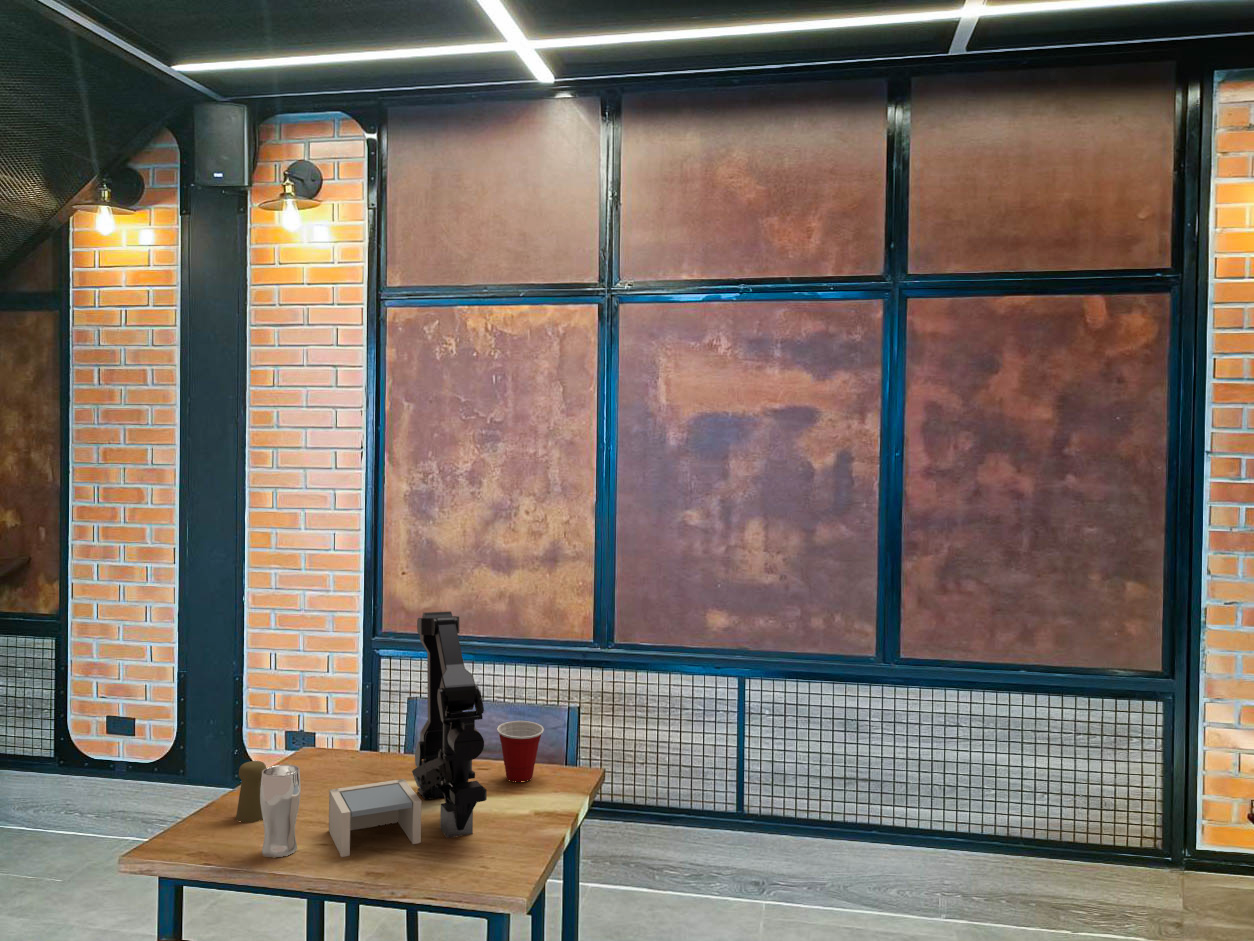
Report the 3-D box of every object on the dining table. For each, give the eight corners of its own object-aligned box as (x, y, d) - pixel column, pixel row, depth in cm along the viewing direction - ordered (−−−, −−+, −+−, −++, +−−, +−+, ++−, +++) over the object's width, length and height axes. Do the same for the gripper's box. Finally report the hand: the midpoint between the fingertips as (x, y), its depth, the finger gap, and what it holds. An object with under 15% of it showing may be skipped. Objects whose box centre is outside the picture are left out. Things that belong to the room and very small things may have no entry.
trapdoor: (340, 796, 174) (340, 791, 174) (397, 788, 179) (397, 783, 179) (351, 817, 164) (352, 811, 164) (411, 807, 169) (411, 802, 169)
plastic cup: (506, 790, 199) (507, 736, 199) (489, 775, 208) (489, 724, 208) (551, 782, 204) (552, 729, 204) (531, 768, 214) (532, 718, 214)
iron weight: (440, 829, 177) (440, 803, 177) (464, 824, 179) (465, 799, 179) (447, 838, 172) (447, 812, 172) (472, 833, 175) (472, 808, 175)
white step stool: (328, 830, 175) (329, 789, 175) (403, 818, 182) (404, 778, 182) (341, 857, 163) (341, 813, 163) (420, 842, 170) (421, 800, 170)
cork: (274, 814, 183) (275, 760, 183) (250, 824, 177) (251, 769, 178) (252, 809, 185) (253, 756, 186) (228, 819, 180) (229, 764, 180)
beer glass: (275, 862, 160) (276, 778, 160) (251, 853, 164) (252, 771, 164) (307, 849, 166) (308, 768, 166) (283, 840, 170) (284, 761, 170)
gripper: (404, 737, 180) (403, 815, 180) (429, 764, 164) (428, 850, 164) (458, 731, 185) (457, 806, 185) (488, 756, 169) (486, 839, 169)
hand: (456, 825), depth 176 cm, fingers closed on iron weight, 5 cm apart
